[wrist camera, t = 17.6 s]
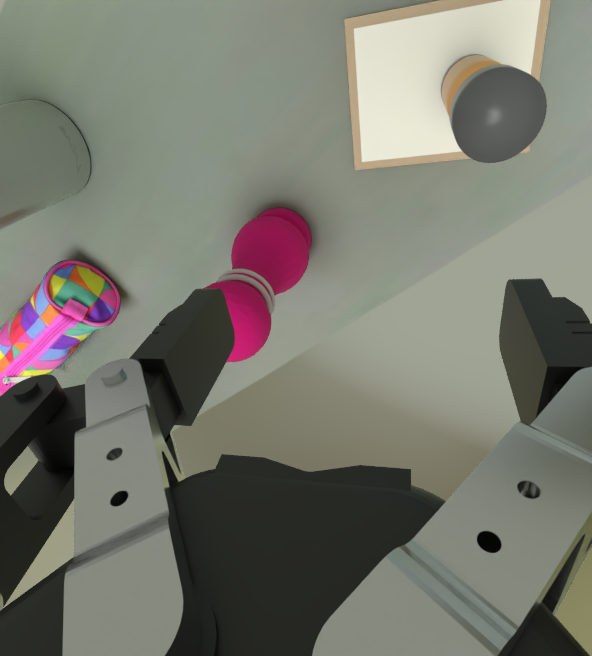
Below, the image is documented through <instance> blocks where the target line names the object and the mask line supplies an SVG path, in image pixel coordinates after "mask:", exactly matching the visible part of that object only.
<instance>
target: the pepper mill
mask: <svg viewBox="0 0 592 656" xmlns="http://www.w3.org/2000/svg"><path fill="white" fill-rule="evenodd" d="M310 246H311V233H310V230H309V227H308V225H307V224H306V222H305V221H304V220H303V218H302V217H300V216H299V215H298V214H297V213H295V212H293V211H291V210H289V209H285V208H272V209H269V210H266V211H264V212H263V213H261V214H260V215H259V216H258V217H257V218H256V219H253V220H252V221H250V222H248V223H247V224H246V225H244V226H243V228H242V229H241V230H240V232H239V233H238V235H237V237H236V238H235V240H234V244H233V247H232V254H231V259H232V266H233V267H232V270H229V271H227V272H225V273H224V274H222V275H221V276H220V277H219V279H218V280H217V282H216V283H213V284H211V285H209V286H207V287H206V288H204V289H211V288H219V289H221V290H222V291H223V293H224V296H225V299H226V303H227V306H228V310H229V313H230V317H231V320H232V324H233V328H234V332H235V344H234V348H233V350H232V352H231V354H230V356H229V358H228V360H227V361H226V362H237V361H242V360H245V359H247V358H250V357H251V356H253V355H255V354H256V353H257V352H258V351H259V350H260V349H261V348H262V347H263V345H264V344H265V342H266V341H267V339H268V336H269V333H270V330H271V314H272V313H273V311H274V308H275V295H276V294H279V293H282V292H285V291H287V290H288V289H290V288H291V287H293V286H294V285H295V284H296V283H298V281H299V280H300V279H301V277H302V276H303V274H304V272H305V271H306V268H307V265H308V260H309V249H310Z"/></svg>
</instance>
